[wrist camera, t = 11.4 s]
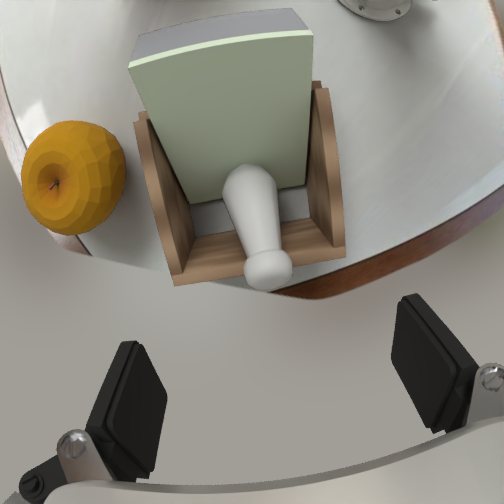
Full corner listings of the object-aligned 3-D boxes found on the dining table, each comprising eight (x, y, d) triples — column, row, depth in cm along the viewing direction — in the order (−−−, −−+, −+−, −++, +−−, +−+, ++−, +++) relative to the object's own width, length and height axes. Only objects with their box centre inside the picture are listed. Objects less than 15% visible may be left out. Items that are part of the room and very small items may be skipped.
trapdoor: (139, 35, 21) (127, 68, 18) (292, 8, 21) (313, 34, 18) (188, 164, 39) (190, 204, 37) (292, 146, 39) (304, 184, 36)
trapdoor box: (160, 116, 33) (131, 111, 23) (302, 90, 33) (326, 77, 23) (189, 247, 40) (174, 286, 30) (320, 224, 39) (345, 257, 29)
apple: (92, 233, 38) (51, 269, 28) (42, 162, 34) (-10, 178, 23) (160, 176, 36) (130, 196, 25) (105, 98, 31) (58, 91, 21)
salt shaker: (247, 200, 37) (269, 301, 30) (209, 182, 33) (223, 292, 26) (282, 171, 33) (316, 275, 27) (244, 148, 30) (273, 260, 23)
